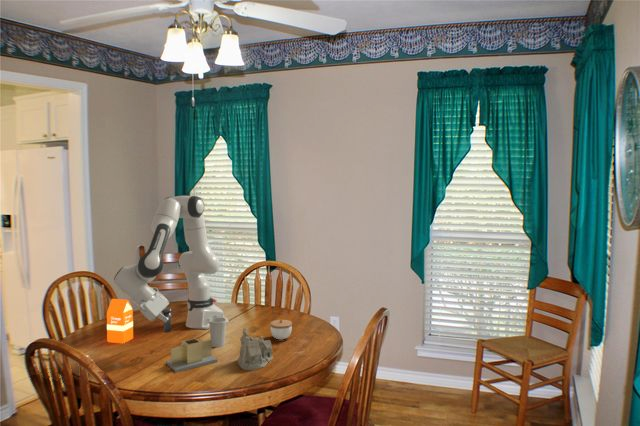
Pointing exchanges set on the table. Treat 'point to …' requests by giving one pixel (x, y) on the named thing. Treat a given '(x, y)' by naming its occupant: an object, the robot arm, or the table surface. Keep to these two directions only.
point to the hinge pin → (168, 324)
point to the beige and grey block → (191, 351)
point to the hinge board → (185, 366)
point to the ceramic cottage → (254, 352)
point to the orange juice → (119, 321)
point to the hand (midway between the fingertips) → (168, 319)
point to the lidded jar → (281, 328)
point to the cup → (217, 331)
